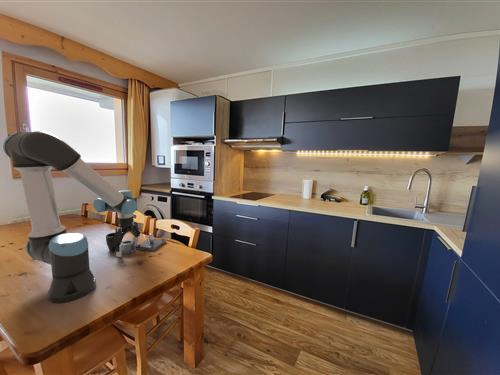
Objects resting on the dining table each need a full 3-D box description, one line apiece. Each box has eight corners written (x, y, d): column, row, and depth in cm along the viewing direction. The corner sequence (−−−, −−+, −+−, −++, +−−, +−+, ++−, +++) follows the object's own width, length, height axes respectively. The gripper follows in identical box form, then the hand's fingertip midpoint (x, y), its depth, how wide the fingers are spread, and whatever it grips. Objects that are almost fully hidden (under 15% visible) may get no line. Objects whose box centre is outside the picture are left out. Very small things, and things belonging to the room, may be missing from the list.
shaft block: (153, 251, 125) (153, 238, 124) (135, 249, 127) (134, 236, 126) (166, 242, 139) (165, 230, 138) (149, 240, 141) (149, 229, 140)
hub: (128, 255, 119) (128, 245, 118) (117, 253, 120) (117, 244, 120) (137, 249, 126) (137, 240, 126) (126, 248, 127) (126, 239, 127)
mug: (109, 256, 118) (108, 240, 116) (105, 249, 126) (104, 234, 125) (125, 252, 123) (124, 236, 122) (121, 245, 132) (120, 231, 131)
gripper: (114, 223, 108) (117, 261, 111) (145, 212, 132) (147, 243, 135) (102, 222, 109) (104, 260, 112) (135, 211, 133) (136, 242, 136)
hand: (127, 251), depth 123 cm, fingers open, 13 cm apart
